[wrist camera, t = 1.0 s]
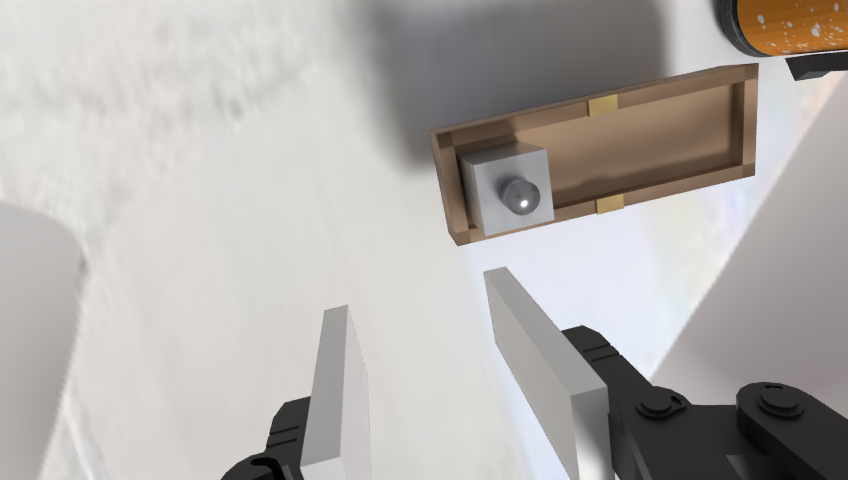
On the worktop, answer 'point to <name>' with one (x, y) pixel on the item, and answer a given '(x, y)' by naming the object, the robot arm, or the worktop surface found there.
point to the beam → (618, 144)
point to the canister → (791, 32)
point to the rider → (506, 186)
